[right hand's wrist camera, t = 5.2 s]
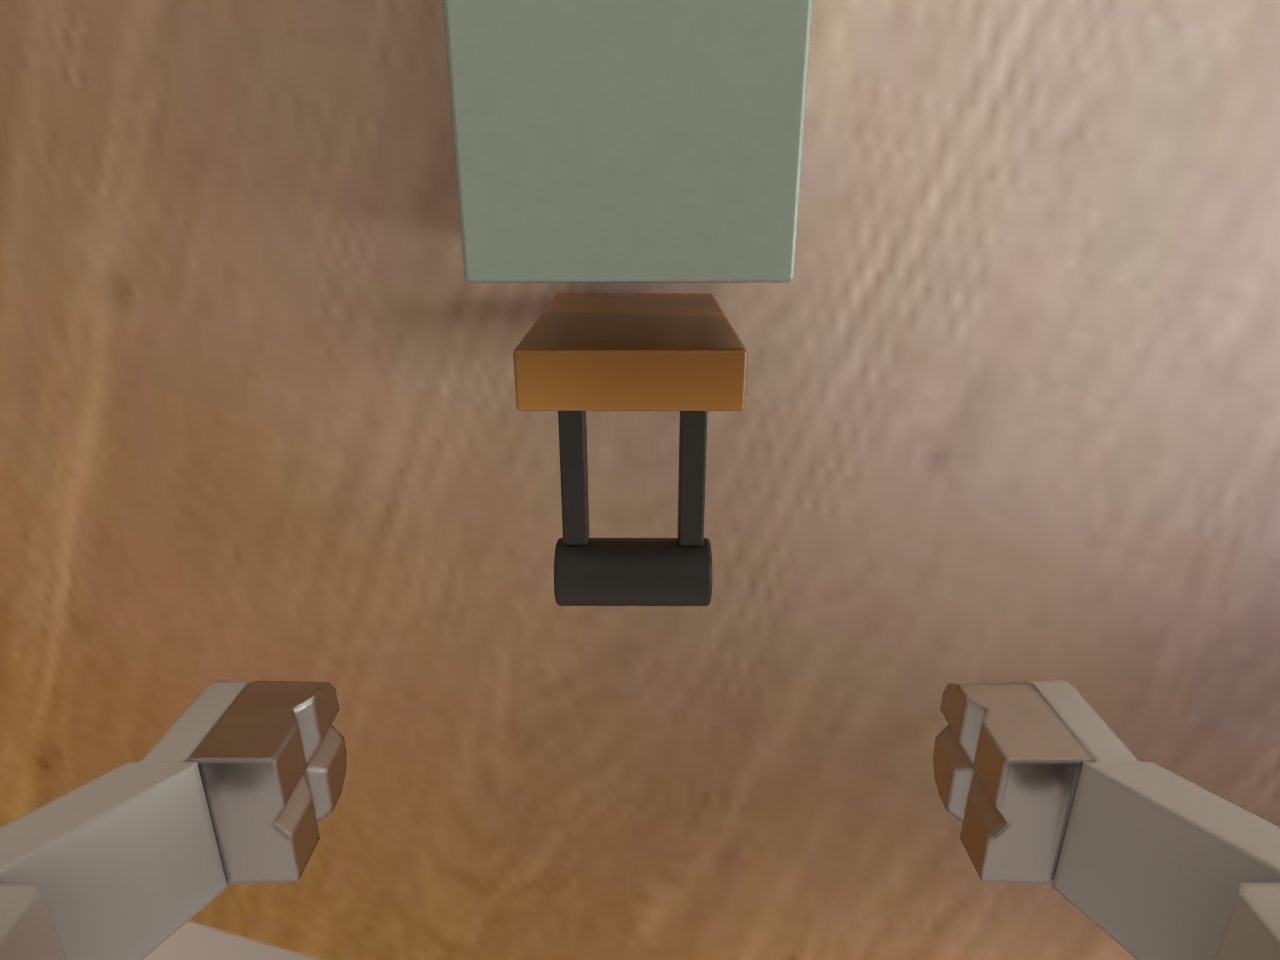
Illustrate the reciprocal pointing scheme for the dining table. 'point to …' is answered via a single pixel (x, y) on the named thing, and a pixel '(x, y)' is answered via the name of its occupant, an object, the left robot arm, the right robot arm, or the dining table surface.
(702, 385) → the drawer
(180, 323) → the dining table surface
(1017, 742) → the right robot arm
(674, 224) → the red-trimmed green box
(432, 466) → the dining table surface
